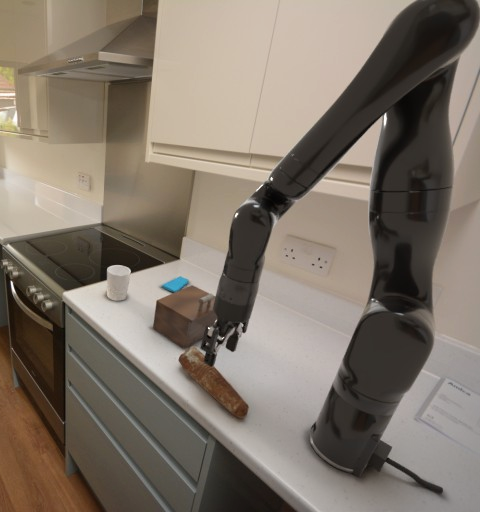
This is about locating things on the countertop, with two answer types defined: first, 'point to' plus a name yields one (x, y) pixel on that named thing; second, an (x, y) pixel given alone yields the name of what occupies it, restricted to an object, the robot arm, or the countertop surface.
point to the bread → (213, 381)
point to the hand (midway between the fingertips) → (219, 356)
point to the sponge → (175, 284)
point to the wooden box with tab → (189, 303)
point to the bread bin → (181, 326)
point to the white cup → (117, 282)
